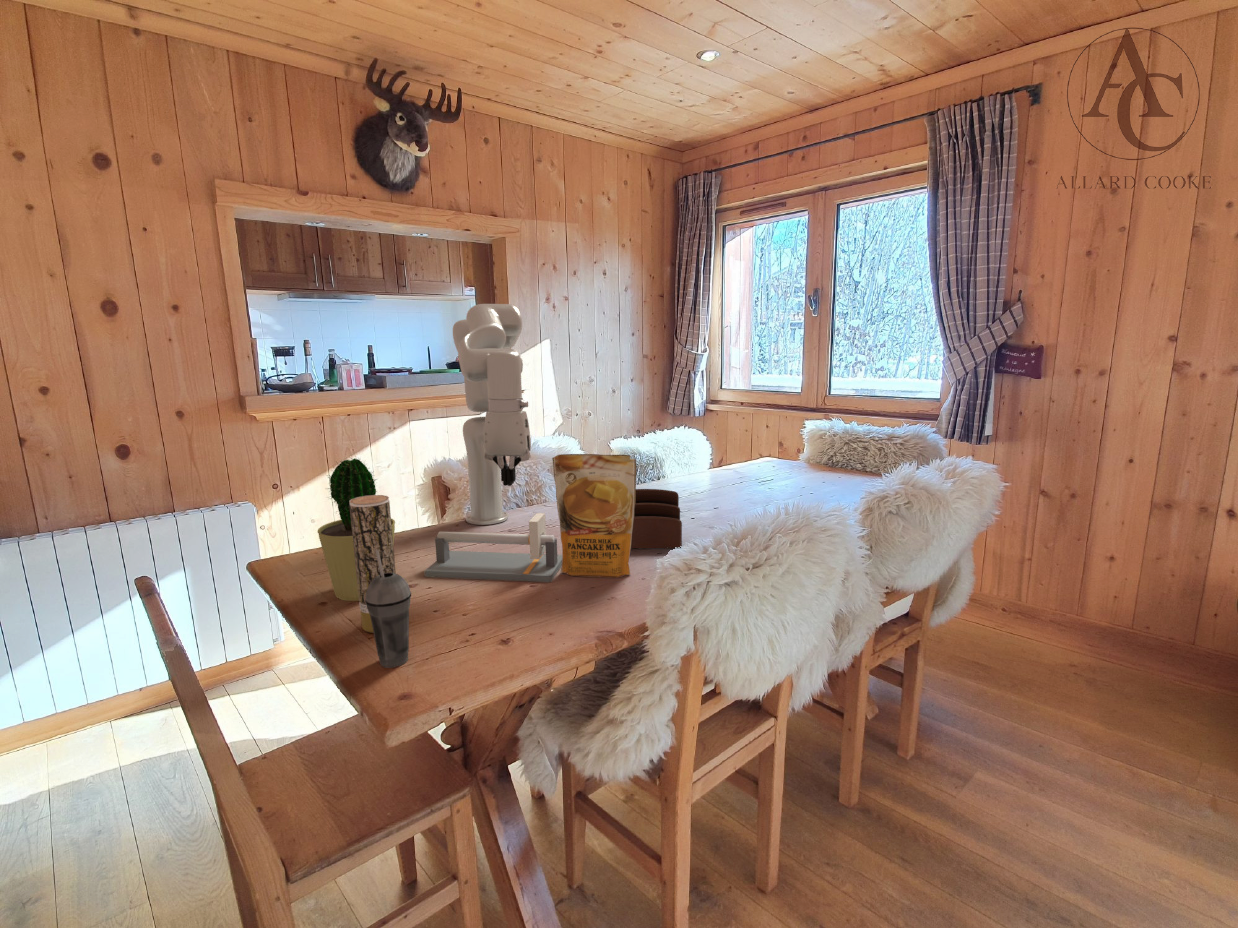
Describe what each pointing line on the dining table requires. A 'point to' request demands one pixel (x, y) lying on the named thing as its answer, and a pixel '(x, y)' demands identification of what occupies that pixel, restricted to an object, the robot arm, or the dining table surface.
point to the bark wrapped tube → (371, 544)
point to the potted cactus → (345, 526)
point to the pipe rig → (494, 559)
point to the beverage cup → (389, 616)
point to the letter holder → (656, 519)
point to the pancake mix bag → (595, 512)
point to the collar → (537, 535)
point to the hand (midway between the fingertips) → (508, 484)
